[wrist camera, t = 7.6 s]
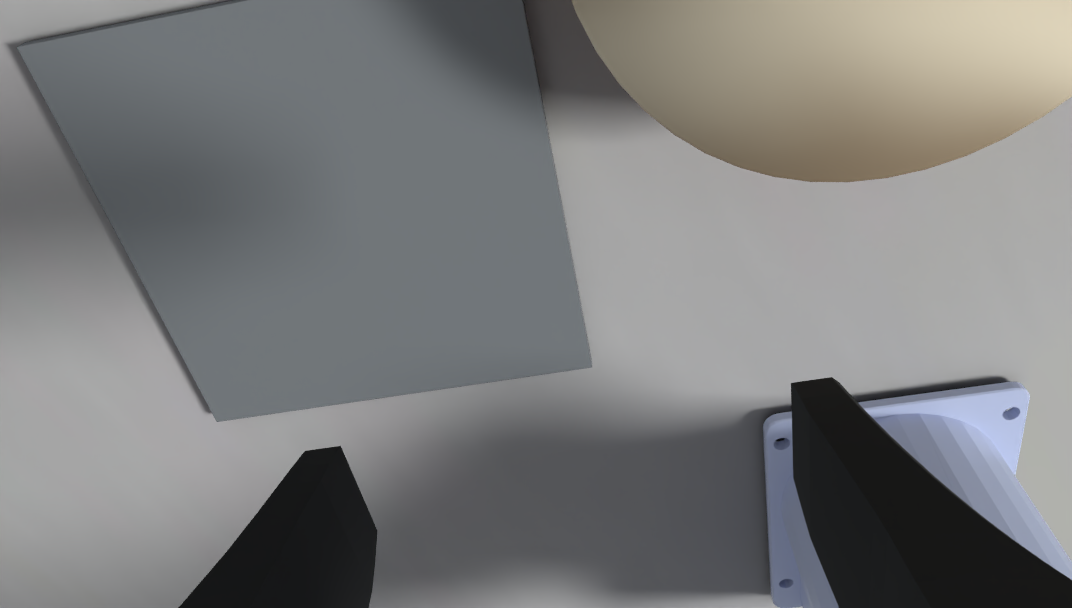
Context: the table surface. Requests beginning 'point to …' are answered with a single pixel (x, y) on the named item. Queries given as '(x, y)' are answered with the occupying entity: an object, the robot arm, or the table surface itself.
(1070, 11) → the lid
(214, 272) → the mat
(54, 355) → the table surface
